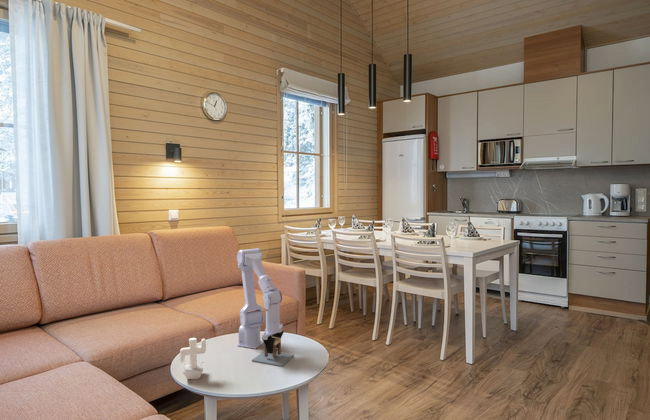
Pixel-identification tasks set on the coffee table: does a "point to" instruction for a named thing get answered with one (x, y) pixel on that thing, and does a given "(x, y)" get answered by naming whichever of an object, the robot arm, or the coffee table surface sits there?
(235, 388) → the coffee table surface
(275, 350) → the stool
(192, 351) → the figurine
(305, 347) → the coffee table surface
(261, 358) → the slate mat
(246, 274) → the robot arm
